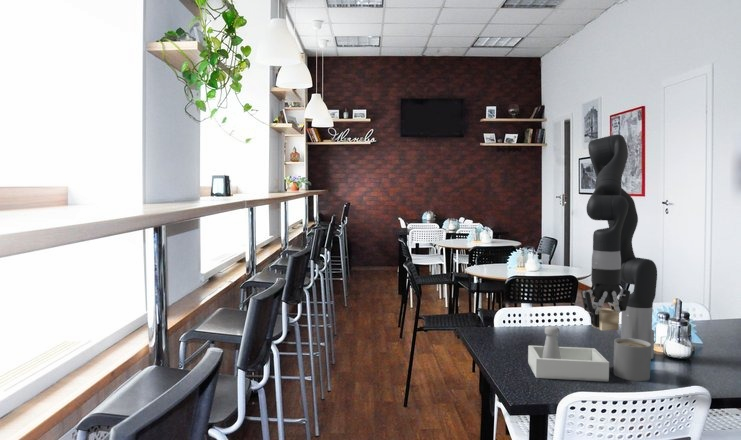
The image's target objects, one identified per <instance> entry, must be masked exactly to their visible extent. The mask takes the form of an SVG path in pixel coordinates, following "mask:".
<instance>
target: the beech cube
mask: <svg viewBox="0 0 741 440" xmlns="http://www.w3.org/2000/svg"><path fill="white" fill-rule="evenodd" d="M619 325H620V313H619V312H617V311H614V310H612V309H611V308H603V307H601V308H600V311H599V327H594V326H593V325H592V324H591V327H593V328H595V329H597V330H600V331H603V332H604V331H619V329H620V328H619Z"/></svg>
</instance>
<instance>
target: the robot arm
mask: <svg viewBox="0 0 741 440" xmlns="http://www.w3.org/2000/svg"><path fill="white" fill-rule="evenodd" d="M587 149H588V155H589V158H590V162H591V165H592V169H593V170H594V173H595V177H596V179H595V184H594V185H595V187H594V191H593V193H592V194H591V195H590V197H589V199H588V201H587V204H586V214H587V216H588V217H589V218H590V219H591V220H594V221H607V225H608V227H605V228H599V229H596V230H594V231H593V234H592V255H591V273H590V274H591V276H590V277H591V278H590V279H591V287H590V289H587V290H581V291H580V294H581V298H582V304H583V308H584V311H586V312H589V313H590V319H591V320H590V323H591V326H592V325H593V326H594V327H593V328H595V327H599V311H600V309H602V308H603V305H604V304H606V303H607V304H608V305H609V307H610V308H609V309H612V310H614V311H617V312H619V314H620V313H621V322H620V323H621V324H620V325H621V326H620V338H632V339H639V340H643V341H646V342H649V343H650V344H651V360H654V354H655V353H654V351H655V350H654V348H655V330H654V329H653V310H654V309H653V307H654V305H653V304H654V300H655V298H656V294H657V282H658V281H657V280H658V268H657V265H656V263H655V262H654V260H652V259H649V258H644V257H636V255H635V251H634V248H633V238H634V234H635V232H636V229H637V227H638V223H639V217H638V212H637V208H636V207H637V206H636V204H635V200H634V199H633V197H632V196H631V195H630V194H629V193H628V192H627V191H626V190H625V189H624V188H622V178H623V174H624V171H625V168H626V166H627V162H628V156H629V149H628V145H627V141H626V139H625V137H624V136H623V135H622V134H612V135H608V136H604V137H600V138H596V139H592V140H590V141H589V142H588V145H587ZM621 282H622V283H625V284H628V285H633V291H632V292H631V291H630V290H629V289H625V288H621V286H620V284H621ZM618 296H619V297H618ZM592 297H593V298H592Z"/></svg>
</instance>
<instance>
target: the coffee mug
mask: <svg viewBox="0 0 741 440" xmlns="http://www.w3.org/2000/svg"><path fill="white" fill-rule="evenodd" d="M613 341H614V342H613V370H612V371H613V375H614V376H616V377H618V378H620V379H623V380H628V381H634V382H644V381H649V380H650V379H651V362H652V359H651V344H650V343H649V342H646V341H643V340H639V339H632V338H621V337H620V338H619V337H618V338H615V339H614V340H613Z"/></svg>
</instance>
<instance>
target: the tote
mask: <svg viewBox="0 0 741 440" xmlns="http://www.w3.org/2000/svg"><path fill="white" fill-rule="evenodd" d="M527 347H528V350H527V351H528V352H527V363H528V365H529V368H530V369H531V371H532V373H533V375H534V376H535V378H537V379H551V380H552V379H553V380H571V381H574V380H575V381H593V382H609V380H610V379H609V378H610V361H608V360H607V359H606V357H604V356H603V355H602V354H601V353H600V352H599V351H598V350H597V349H596V348H593V347H575V346H573V347H572V346H559V351H560V356H561V359H549V358H542V355H543V350H544V345H528V346H527Z"/></svg>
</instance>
